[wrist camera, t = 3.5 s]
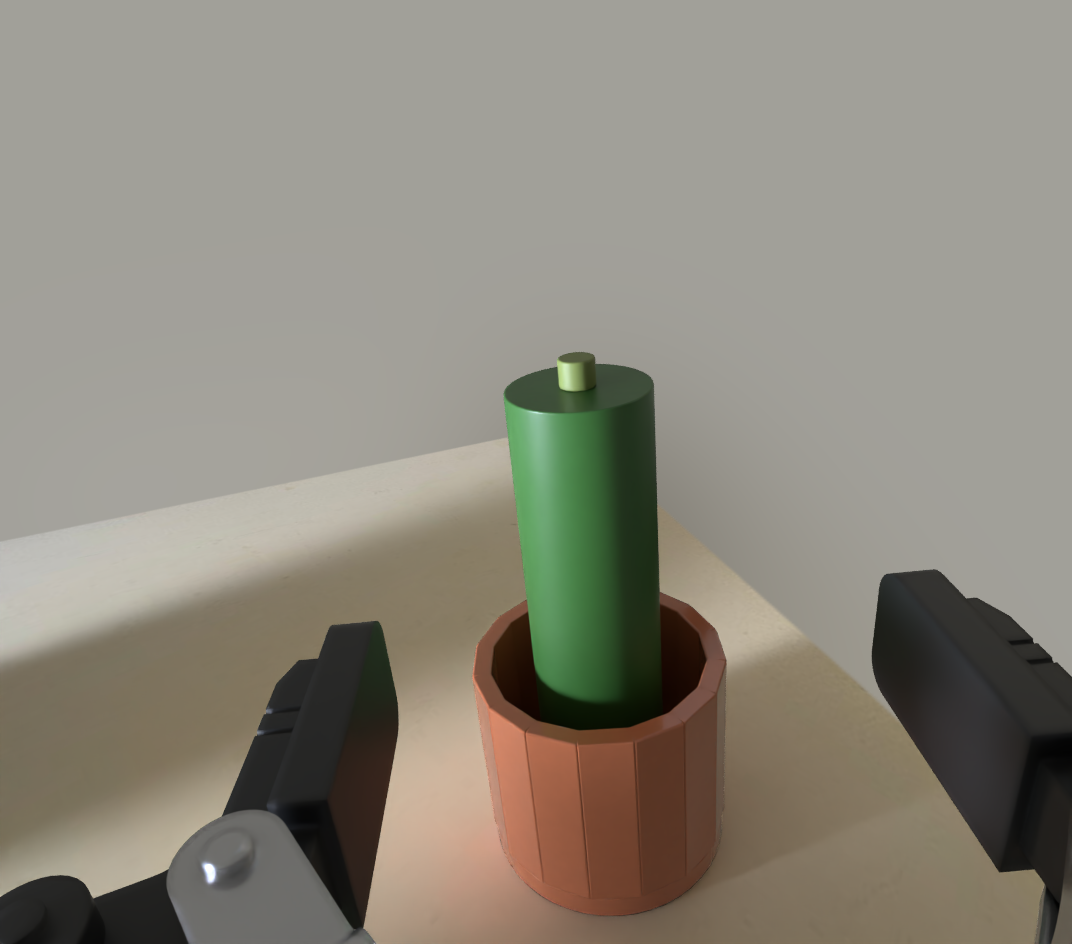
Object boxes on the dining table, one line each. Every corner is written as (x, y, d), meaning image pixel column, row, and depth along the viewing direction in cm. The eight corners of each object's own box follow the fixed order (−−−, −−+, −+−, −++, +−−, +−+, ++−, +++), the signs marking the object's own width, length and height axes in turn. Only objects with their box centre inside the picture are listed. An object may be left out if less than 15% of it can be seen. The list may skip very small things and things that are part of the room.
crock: (740, 758, 29) (744, 602, 26) (693, 951, 22) (692, 774, 19) (548, 713, 32) (532, 569, 29) (459, 872, 25) (427, 709, 22)
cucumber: (677, 767, 27) (669, 337, 21) (647, 859, 24) (626, 385, 18) (573, 741, 29) (536, 335, 22) (531, 825, 26) (473, 377, 19)
